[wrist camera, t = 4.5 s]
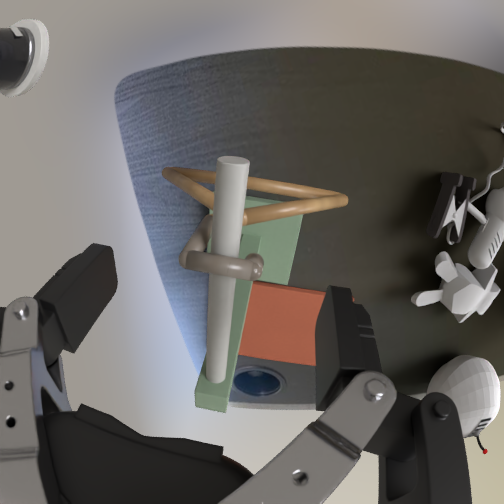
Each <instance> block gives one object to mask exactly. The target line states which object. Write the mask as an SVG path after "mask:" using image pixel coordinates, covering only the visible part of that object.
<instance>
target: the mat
mask: <svg viewBox="0 0 504 504" xmlns="http://www.w3.org/2000/svg"><path fill="white" fill-rule="evenodd" d="M325 293H326V292H321V291H315V290H308V289H302V288H295V287H289V286H283V285H277V284H271V283H265V282H259V281H253V284H252V289H251V294H250V298H249V303H248V308H247V313H246V318H245V323H244V328H243V333H242V338H241V343H240V347H239V352H238V354H239V355H244V356H250V357H256V358H262V359H269V360H276V361H282V362H290V363H297V364H305V365H314V366H316V360H315V326H316V321H317V317H318V314H319V311H320V308H321V305H322V302H323V299H324V296H325ZM352 298H353V296H352ZM353 301H354V298H353Z"/></svg>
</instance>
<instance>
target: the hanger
mask: <svg viewBox="0 0 504 504" xmlns="http://www.w3.org/2000/svg"><path fill="white" fill-rule="evenodd" d="M162 176H163V177H164V178H165V179H167V180H168V181H170V182H171V183H173V184H174V185H176V186H177V187H178V188H180V189H181V190H183V191H184V192H186V193H187V194H189V195H190V196H192V197H193V198H195V199H196V200H198V201H199V202H201V203H202V204H203V205H205V206H206V207H208V208H209V209H211V210H212V211H213V206H214V193H213V192H211V191H210V190H208V189H206V188H205V187H203V186H201V185H200V184H198V183H196V182H202V183H209V184H215V180H216V172H213V171H206V170H197V169H189V168H180V167H166V168H164V169H163V171H162ZM247 189H250V190H256V191H263V192H269V193H275V194H281V195H286V196H292V197H298V198H303V199H302V200H295V201H289V202H282V203H276V204H270V205H263V206H257V207H251V208H245V209H244V214H243V222H242V226H247V225H251V224H256V223H261V222H266V221H271V220H276V219H281V218H286V217H291V216H296V215H301V214H307V213H312V212H317V211H322V210H328V209H333V208H338V207H344V206H346V205H347V203H348V197H347V196H346V195H344V194H341V193H338V192H334V191H329V190H324V189H319V188H313V187H308V186H303V185H297V184H292V183H286V182H280V181H274V180H268V179H262V178H256V177H249V176H248V181H247ZM212 221H213V214H209V215H206V216H205V217H204V218H203V219H202V221H201V222H200V224H199V225H198V227H197V228H196V230H195V231H194V233H193V235H192V236H191V238H190V239H189V241H188V242H187V244H186V245H185V247H184V249H183V250H182V252H181V253H180V255H179V264H180V265H181V266H182V267H183V268H185V269H189V270H194V271H199V272H204V273H210V274H215V275H221V276H226V277H231V278H237V279H243V280H248V281H255V280H257V279H259V278H260V277H261V275H262V271H263V265H264V260H263V258H262V256H261V255H259V254H258V253H250V254H249V255H247V256H246V258H245V259H241V258H235V257H229V256H224V255H218V254H212V253H207V252H204V250H205V248H206V246H207V244H208V242H209V240H210V238H211V236H212Z"/></svg>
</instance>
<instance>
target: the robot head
mask: <svg viewBox="0 0 504 504" xmlns="http://www.w3.org/2000/svg"><path fill="white" fill-rule="evenodd" d="M432 392H440V393H443V394H445V395H447V396H448V397H450V398H451V399H452V400H453V402H454V403H455V405H456V407H457V410H458V414H459V419H460V423H461V428H462V433H463V438H466V437H471V436H475V437H477V441H478V444H479V446H480V448H481V449H482V450H483V453H484V454H486V453H487V449H484V448H483V447H482V445H481V443H480V440H479V434H480V432H481V430H483V429H484V428H485V427H486V426H488V425H489V423H490V422H491V421H492V420H493V419H494V418H495V416H496V415H497V413H498V411H499V407H500V383H499V379H498V377H497V374H496V372H495V370H494V368H493V366H492V365H491V364H490V363H489V362H488V361H486V360H485V359H482V358H478V357H474V356H470V355H460V356H457V357H455V358H454V359H452V360H451V361H449V362H448V363H446V364H445V365H443V366H442V367H441V368H440V369H439V370H438V371H437V372H436V373H435V374H434V376H433V377H432V379H431V381H430V383H429V385H428V389H427V393H426V395H427V394H429V393H432Z"/></svg>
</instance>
